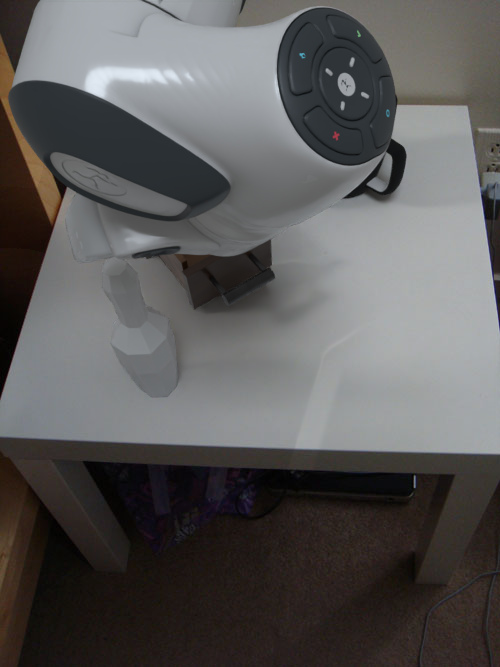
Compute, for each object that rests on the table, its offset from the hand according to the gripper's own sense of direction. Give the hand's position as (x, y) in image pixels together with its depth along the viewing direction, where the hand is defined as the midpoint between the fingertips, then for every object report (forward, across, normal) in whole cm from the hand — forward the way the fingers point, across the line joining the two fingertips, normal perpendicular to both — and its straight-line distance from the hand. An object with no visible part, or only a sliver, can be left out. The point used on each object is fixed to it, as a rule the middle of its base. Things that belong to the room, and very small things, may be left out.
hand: (176, 233), depth 54 cm
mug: (+26, -36, -8) cm, 45 cm away
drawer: (+25, -12, +1) cm, 28 cm away
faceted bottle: (+21, 0, +14) cm, 25 cm away
